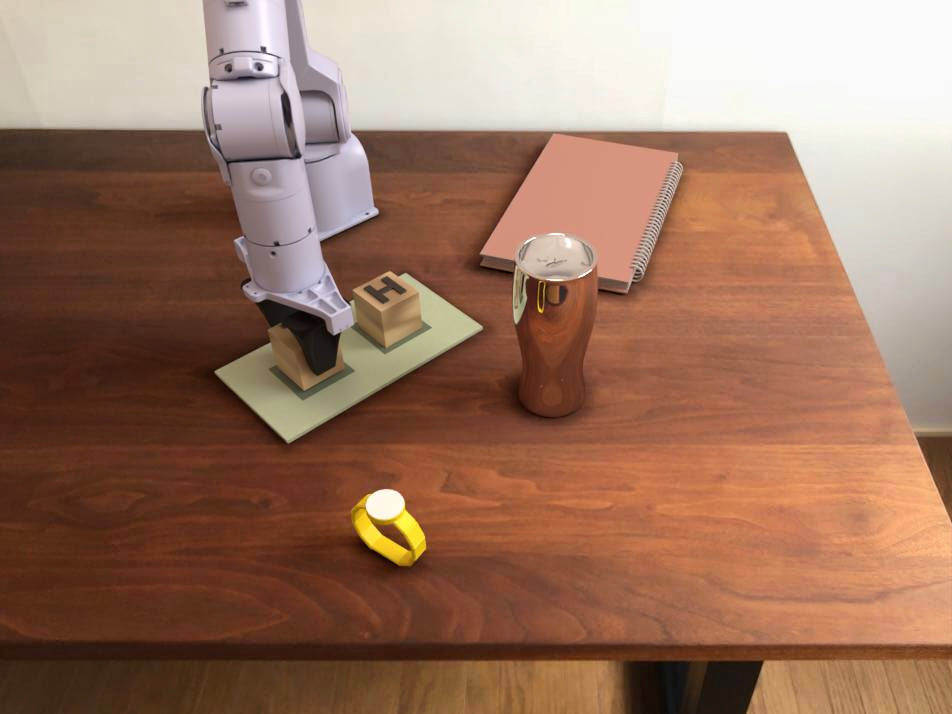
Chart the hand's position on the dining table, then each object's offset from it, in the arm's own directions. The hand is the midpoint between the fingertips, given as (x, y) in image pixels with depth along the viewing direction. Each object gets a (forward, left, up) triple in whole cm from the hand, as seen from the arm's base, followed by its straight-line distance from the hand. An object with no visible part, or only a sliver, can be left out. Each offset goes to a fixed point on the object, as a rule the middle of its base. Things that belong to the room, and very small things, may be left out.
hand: (308, 355), depth 80 cm
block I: (0, 0, -1) cm, 1 cm away
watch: (+7, +21, -2) cm, 22 cm away
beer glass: (-14, +17, -2) cm, 22 cm away
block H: (-9, 0, -2) cm, 9 cm away
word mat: (-5, 0, -2) cm, 5 cm away
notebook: (-38, -1, -2) cm, 38 cm away
